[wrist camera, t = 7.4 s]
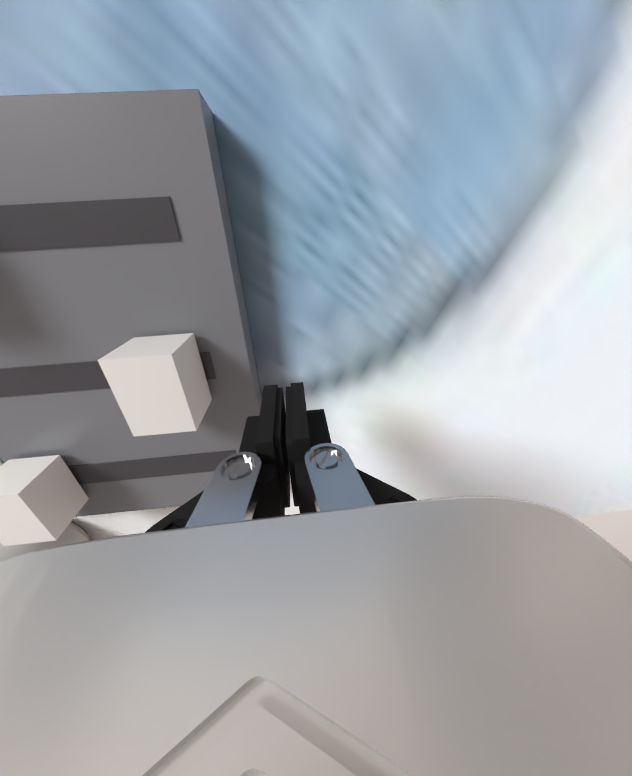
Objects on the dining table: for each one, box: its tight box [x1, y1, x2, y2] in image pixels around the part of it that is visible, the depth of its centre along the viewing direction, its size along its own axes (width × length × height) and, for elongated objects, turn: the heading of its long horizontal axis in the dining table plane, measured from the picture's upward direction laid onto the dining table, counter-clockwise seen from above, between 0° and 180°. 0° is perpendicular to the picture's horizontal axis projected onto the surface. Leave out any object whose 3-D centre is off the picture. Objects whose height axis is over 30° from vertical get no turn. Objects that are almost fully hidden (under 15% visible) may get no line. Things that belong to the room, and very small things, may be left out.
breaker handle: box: [98, 333, 212, 437], centre depth 14 cm, size 3×4×3 cm
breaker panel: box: [0, 89, 262, 546], centre depth 14 cm, size 18×22×5 cm
